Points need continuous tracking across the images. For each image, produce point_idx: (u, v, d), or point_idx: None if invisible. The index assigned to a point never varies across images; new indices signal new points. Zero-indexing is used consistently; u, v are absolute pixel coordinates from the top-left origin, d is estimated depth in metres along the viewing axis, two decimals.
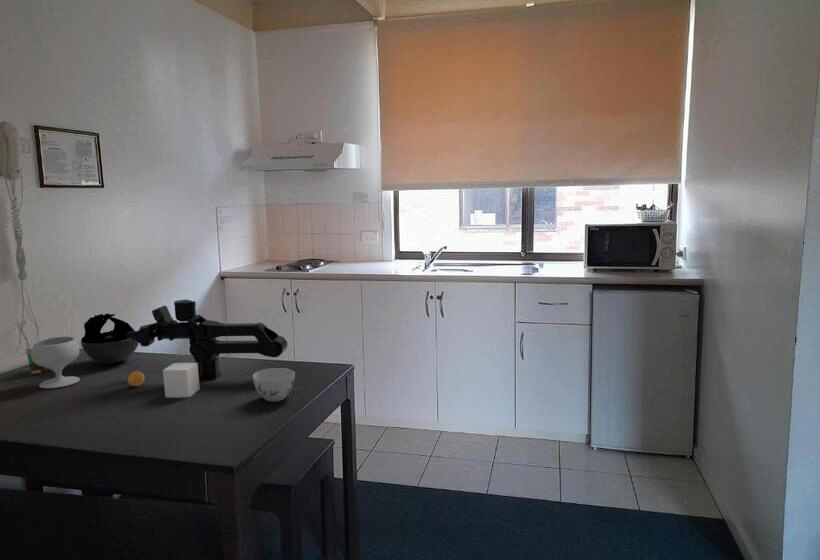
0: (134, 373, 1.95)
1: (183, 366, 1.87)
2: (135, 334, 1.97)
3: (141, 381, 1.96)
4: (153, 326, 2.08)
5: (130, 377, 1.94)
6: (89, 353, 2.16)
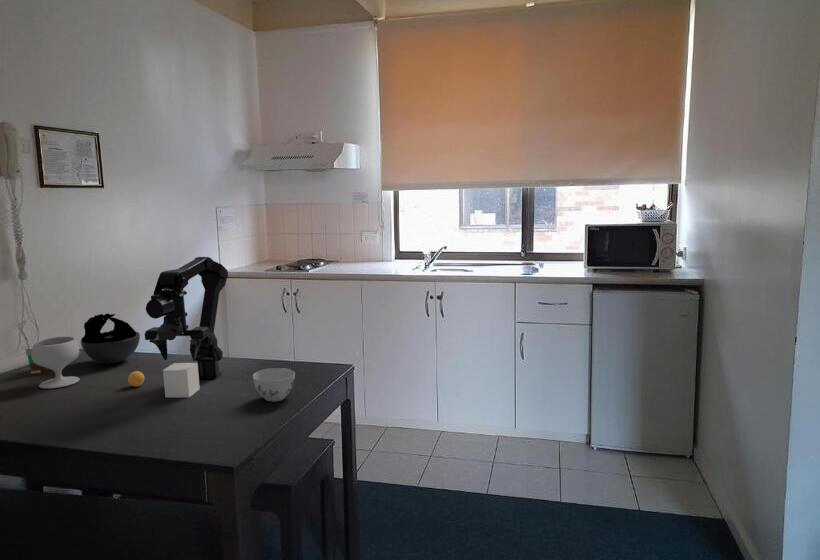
0: (134, 373, 1.95)
1: (183, 366, 1.87)
2: (196, 347, 1.86)
3: (141, 381, 1.96)
4: (163, 345, 1.86)
5: (130, 377, 1.94)
6: (89, 353, 2.16)
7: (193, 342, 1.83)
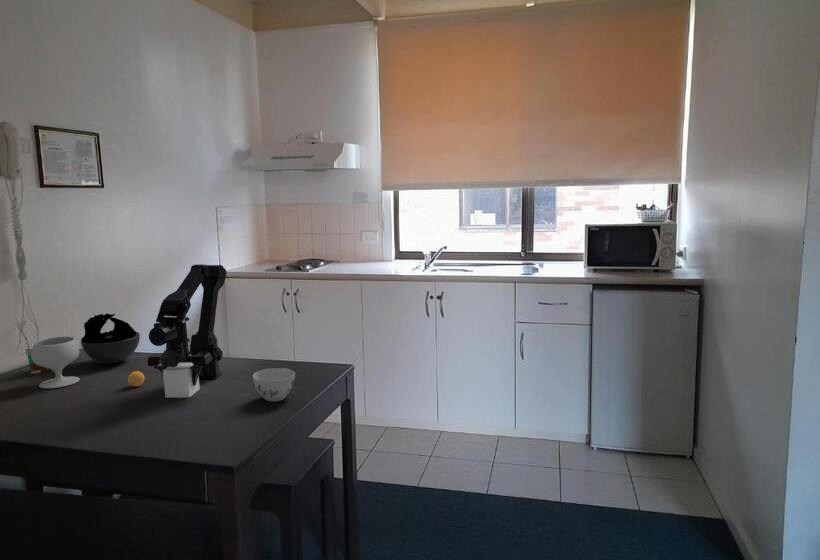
0: (134, 373, 1.95)
1: (183, 366, 1.87)
2: (196, 373, 1.87)
3: (141, 381, 1.96)
4: None
5: (130, 377, 1.94)
6: (89, 353, 2.16)
7: (194, 368, 1.84)
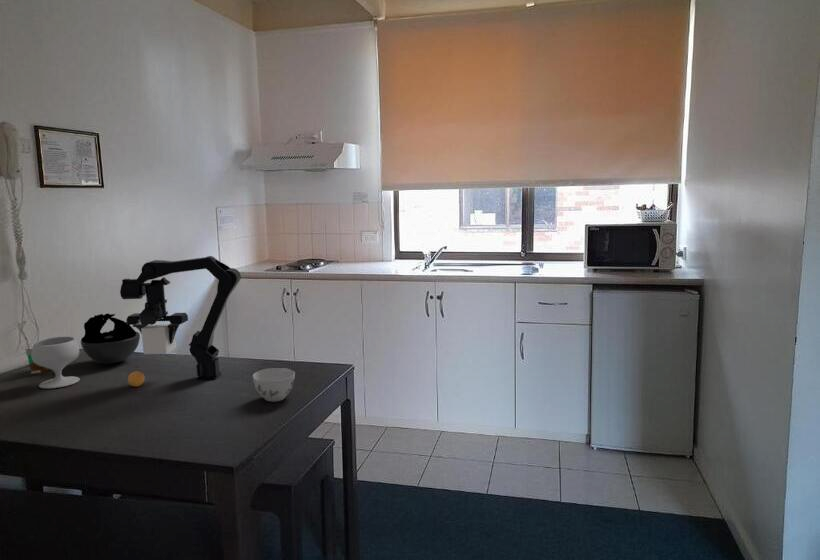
0: (134, 373, 1.95)
1: (160, 325, 2.00)
2: (173, 332, 2.00)
3: (141, 381, 1.96)
4: None
5: (130, 377, 1.94)
6: (89, 353, 2.16)
7: (171, 327, 1.98)
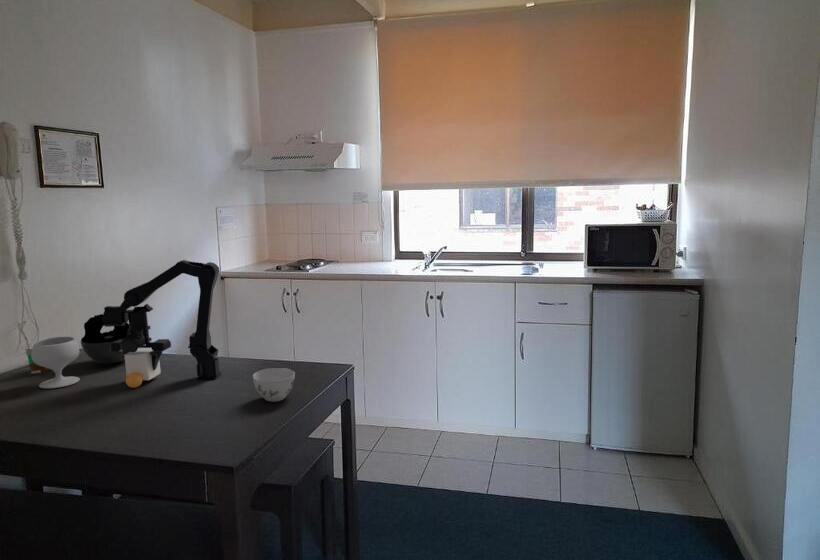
0: (130, 377, 1.93)
1: (144, 351, 2.00)
2: (156, 358, 2.00)
3: (140, 383, 1.95)
4: None
5: (128, 382, 1.93)
6: (89, 353, 2.16)
7: (153, 354, 1.97)
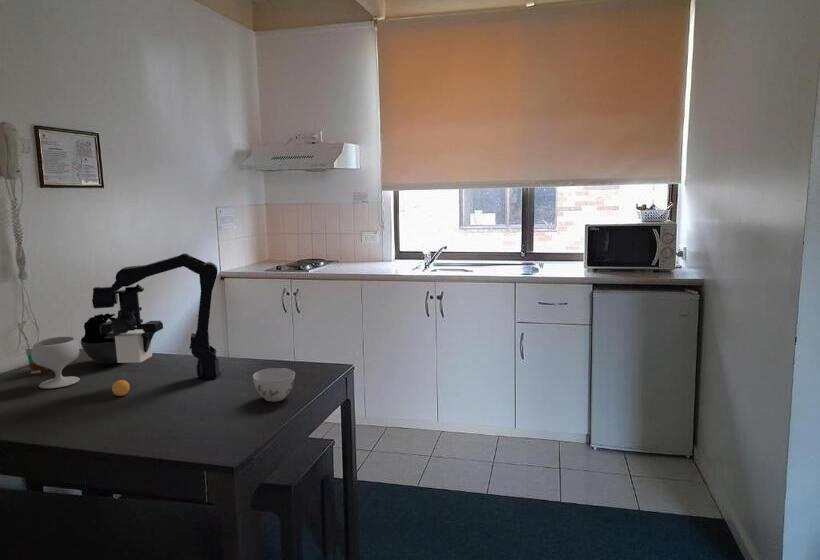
0: None
1: (135, 333, 1.95)
2: (148, 340, 1.95)
3: (128, 384, 1.88)
4: None
5: None
6: (89, 353, 2.16)
7: (144, 335, 1.92)
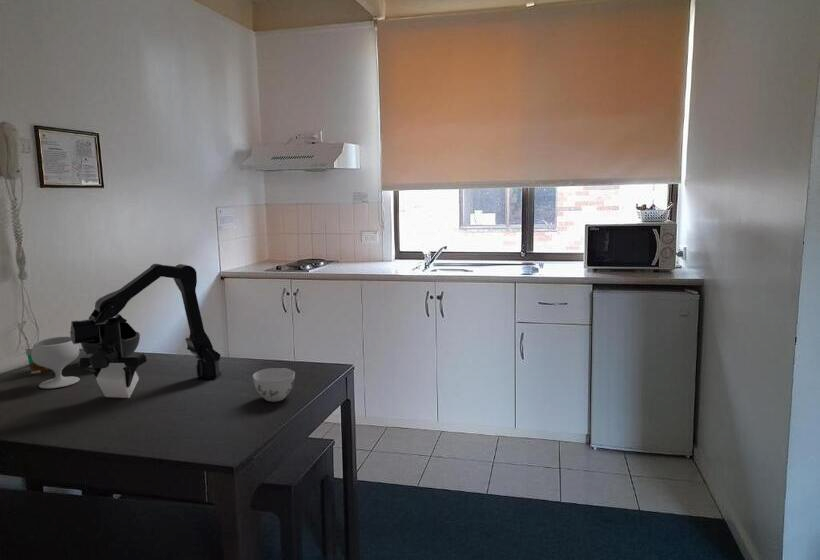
0: None
1: (116, 370, 1.83)
2: (130, 375, 1.83)
3: None
4: None
5: None
6: (89, 353, 2.16)
7: (126, 369, 1.81)
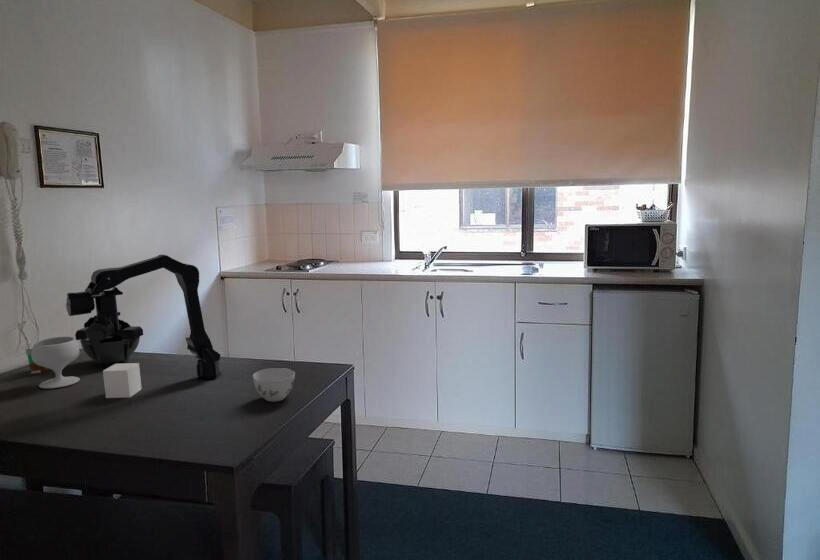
0: None
1: (124, 367, 1.88)
2: (128, 348, 1.82)
3: None
4: (95, 346, 1.82)
5: None
6: (89, 353, 2.16)
7: (124, 342, 1.79)
